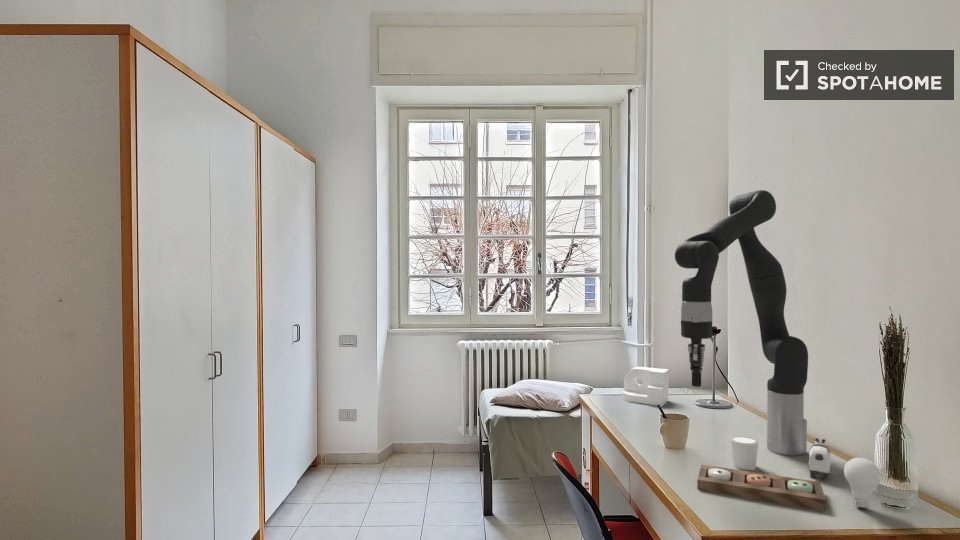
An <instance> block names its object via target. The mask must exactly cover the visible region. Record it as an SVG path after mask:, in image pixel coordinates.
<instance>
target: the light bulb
mask: <svg viewBox="0 0 960 540" xmlns="http://www.w3.org/2000/svg"><path fill="white" fill-rule="evenodd" d="M843 474H844V477H845V479H846V481H847V482H848V484H849V485H850V488H851V491H852V493H851V494H852V496H853V497H854V498H853V505H854V506H856V507H857V508H859V509H862V510H865V509H868V508H870V506H871V505H870V502H871V498H872V494H873V491H874V490H875V489H876V487H877V486H878V485H879V484H880V482H881V471H880V469H879V467H878V466H877V465H876V464H875V463H874V462H872V460H870V459H867V458H865V457H853V458H851V459H849V460H848V461H847V462H846V463H845V465H844V468H843Z"/></svg>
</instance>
